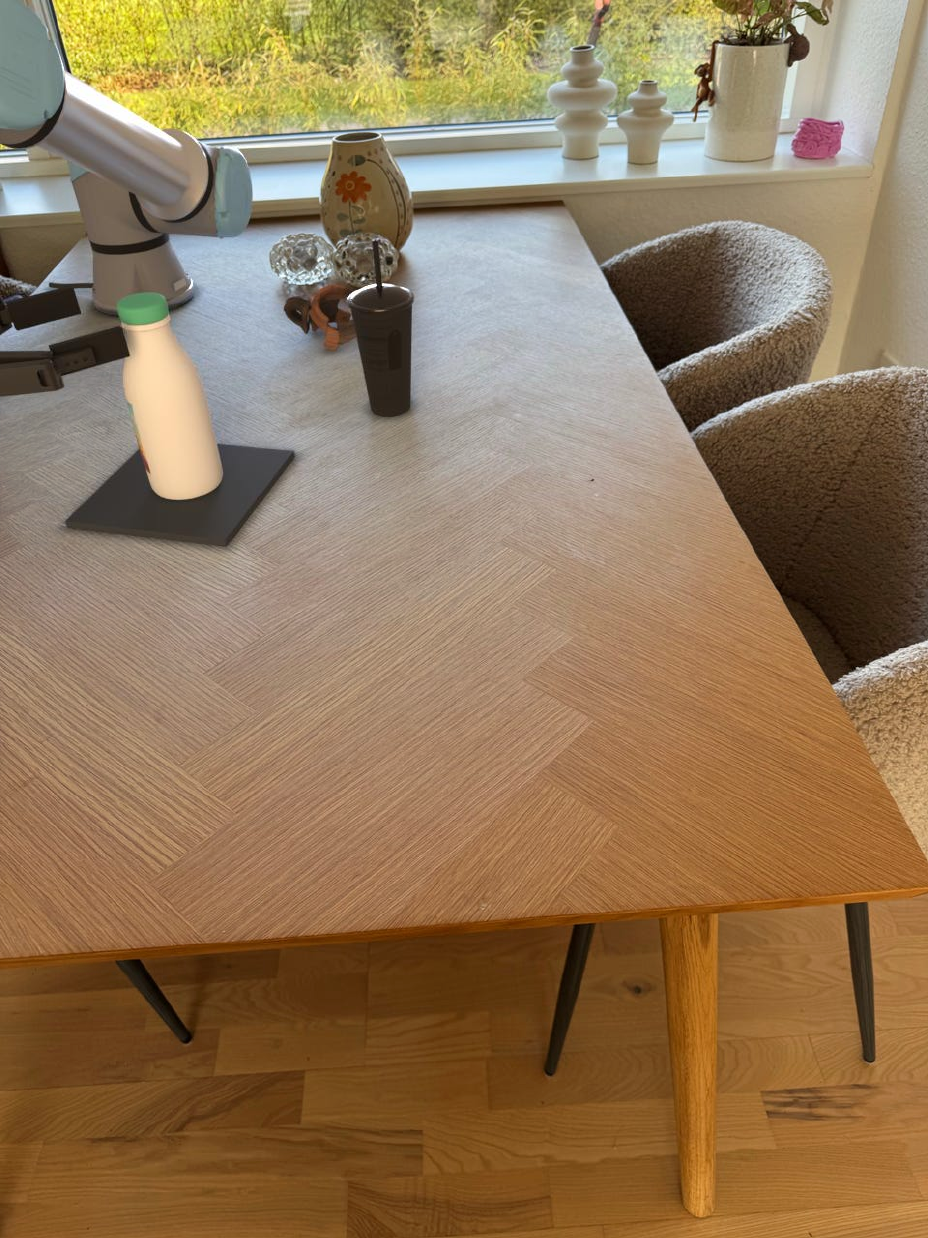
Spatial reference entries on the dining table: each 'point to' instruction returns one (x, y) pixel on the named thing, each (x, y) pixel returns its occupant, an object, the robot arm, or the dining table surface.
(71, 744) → the dining table surface
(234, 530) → the slate mat
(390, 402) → the drinking cup
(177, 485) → the milk bottle
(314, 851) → the dining table surface
